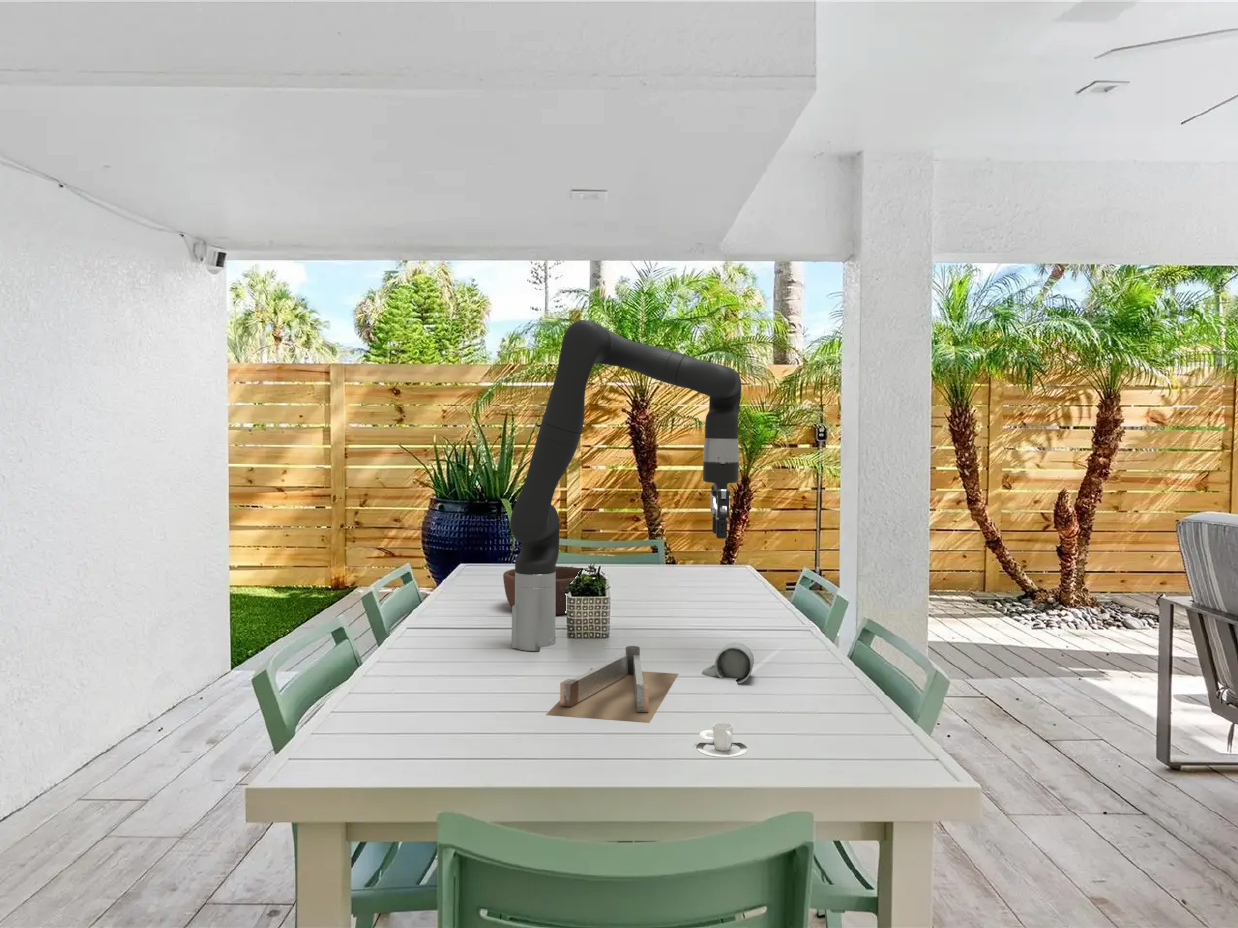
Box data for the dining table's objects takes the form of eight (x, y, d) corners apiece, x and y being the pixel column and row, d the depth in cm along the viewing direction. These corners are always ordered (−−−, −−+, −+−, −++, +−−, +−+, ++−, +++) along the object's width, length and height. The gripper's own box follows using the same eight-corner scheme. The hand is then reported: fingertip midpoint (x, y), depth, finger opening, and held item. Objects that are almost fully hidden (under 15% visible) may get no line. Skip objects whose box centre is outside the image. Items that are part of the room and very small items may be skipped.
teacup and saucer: (694, 740, 151) (695, 715, 151) (744, 741, 151) (744, 716, 151) (697, 759, 142) (697, 733, 142) (750, 760, 142) (750, 733, 142)
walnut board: (545, 720, 159) (545, 684, 159) (591, 672, 190) (591, 642, 190) (649, 728, 155) (649, 691, 155) (678, 678, 187) (678, 647, 186)
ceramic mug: (754, 675, 190) (754, 639, 189) (752, 685, 182) (752, 647, 182) (704, 673, 192) (704, 637, 191) (700, 683, 184) (699, 646, 184)
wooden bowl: (611, 607, 262) (611, 570, 261) (558, 622, 241) (558, 582, 240) (540, 598, 275) (540, 563, 275) (484, 611, 254) (484, 574, 254)
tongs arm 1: (618, 673, 186) (618, 653, 185) (627, 674, 185) (628, 654, 185) (560, 705, 164) (560, 682, 164) (570, 706, 163) (570, 684, 163)
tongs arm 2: (633, 674, 185) (633, 654, 184) (643, 674, 185) (643, 654, 184) (636, 711, 161) (637, 688, 160) (648, 711, 161) (648, 688, 160)
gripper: (700, 458, 206) (699, 531, 207) (706, 461, 192) (704, 539, 192) (734, 459, 206) (733, 532, 206) (742, 461, 192) (741, 540, 192)
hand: (719, 535), depth 199 cm, fingers open, 8 cm apart
